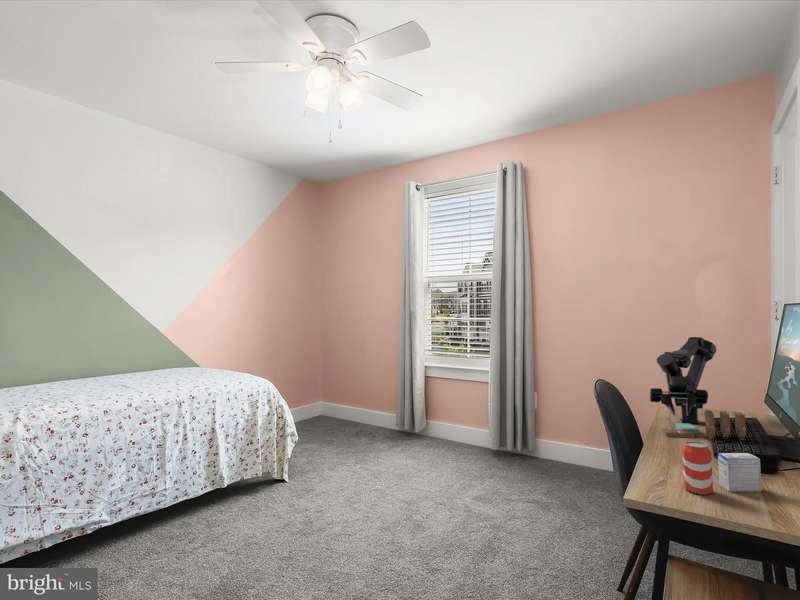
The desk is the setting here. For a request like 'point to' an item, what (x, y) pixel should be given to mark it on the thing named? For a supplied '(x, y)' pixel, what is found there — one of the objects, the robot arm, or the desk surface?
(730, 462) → the medicine box
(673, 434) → the domino
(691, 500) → the desk surface
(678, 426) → the end domino
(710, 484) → the beverage can
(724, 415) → the domino
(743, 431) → the domino
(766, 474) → the desk surface
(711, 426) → the domino
